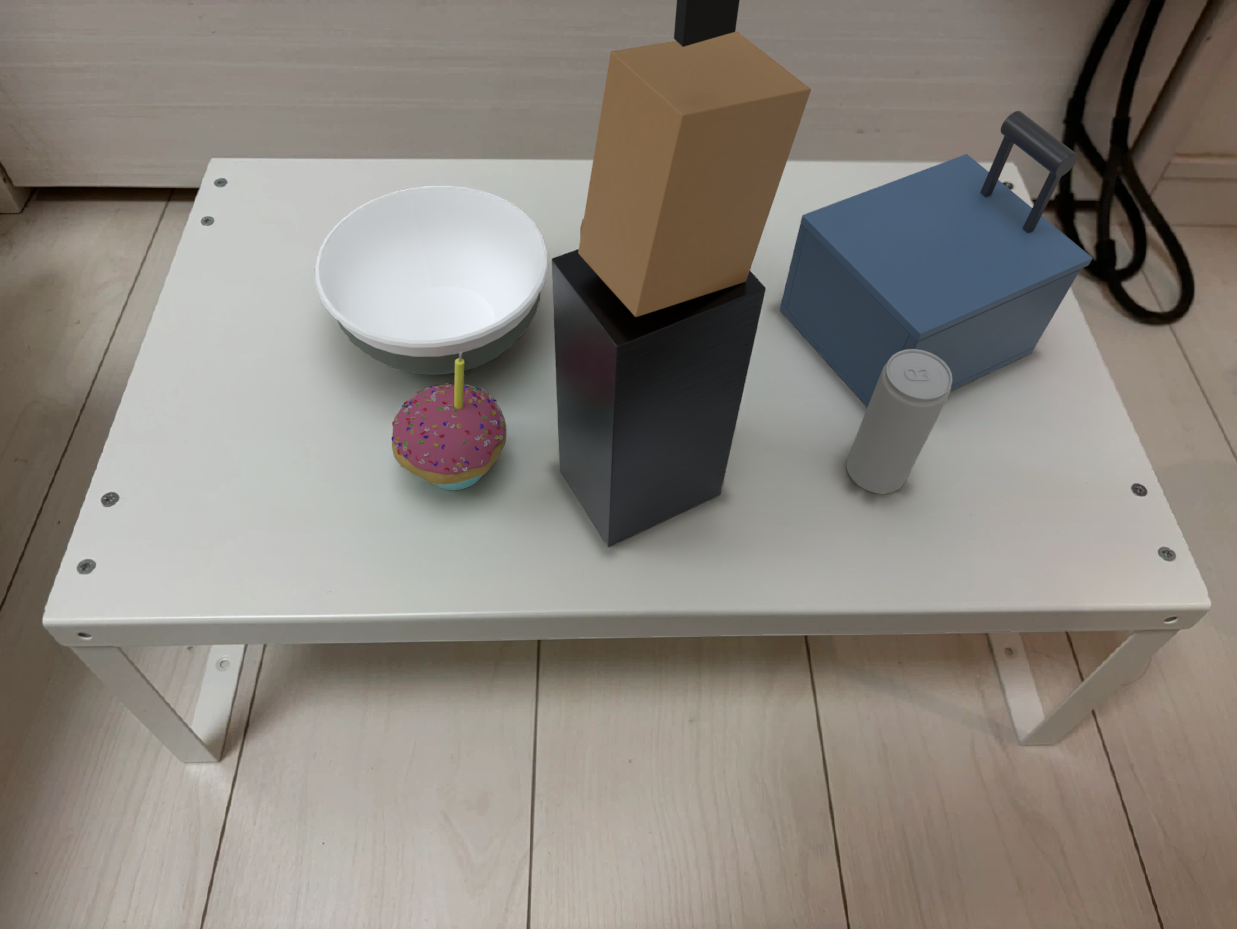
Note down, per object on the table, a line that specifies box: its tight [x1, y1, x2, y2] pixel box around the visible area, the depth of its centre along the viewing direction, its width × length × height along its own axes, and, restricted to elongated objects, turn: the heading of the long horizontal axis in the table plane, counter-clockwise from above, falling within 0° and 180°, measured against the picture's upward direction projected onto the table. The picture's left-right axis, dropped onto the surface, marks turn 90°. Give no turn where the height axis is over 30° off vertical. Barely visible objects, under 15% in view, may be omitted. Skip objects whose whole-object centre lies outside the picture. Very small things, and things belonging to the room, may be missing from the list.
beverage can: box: [845, 349, 952, 495], centre depth 69 cm, size 5×5×12 cm
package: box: [578, 30, 812, 317], centre depth 49 cm, size 6×8×12 cm
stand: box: [551, 248, 767, 548], centre depth 63 cm, size 8×10×22 cm
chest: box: [779, 222, 1081, 408], centre depth 79 cm, size 17×15×10 cm
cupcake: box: [391, 351, 507, 491], centre depth 68 cm, size 9×8×12 cm
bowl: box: [313, 185, 550, 375], centre depth 78 cm, size 19×19×8 cm
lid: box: [800, 110, 1094, 341], centre depth 71 cm, size 18×15×8 cm
